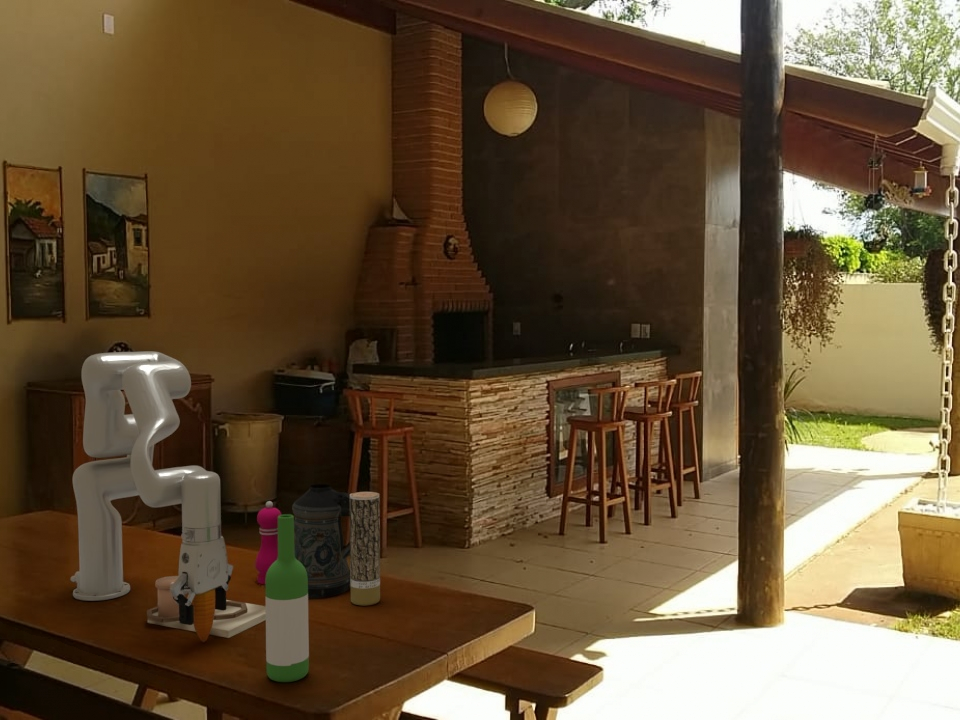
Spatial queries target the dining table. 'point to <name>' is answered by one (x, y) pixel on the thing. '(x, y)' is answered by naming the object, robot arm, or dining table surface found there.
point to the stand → (219, 619)
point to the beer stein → (322, 540)
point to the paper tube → (365, 548)
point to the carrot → (204, 613)
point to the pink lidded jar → (166, 597)
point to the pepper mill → (267, 540)
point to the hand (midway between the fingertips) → (203, 616)
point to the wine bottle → (286, 610)
